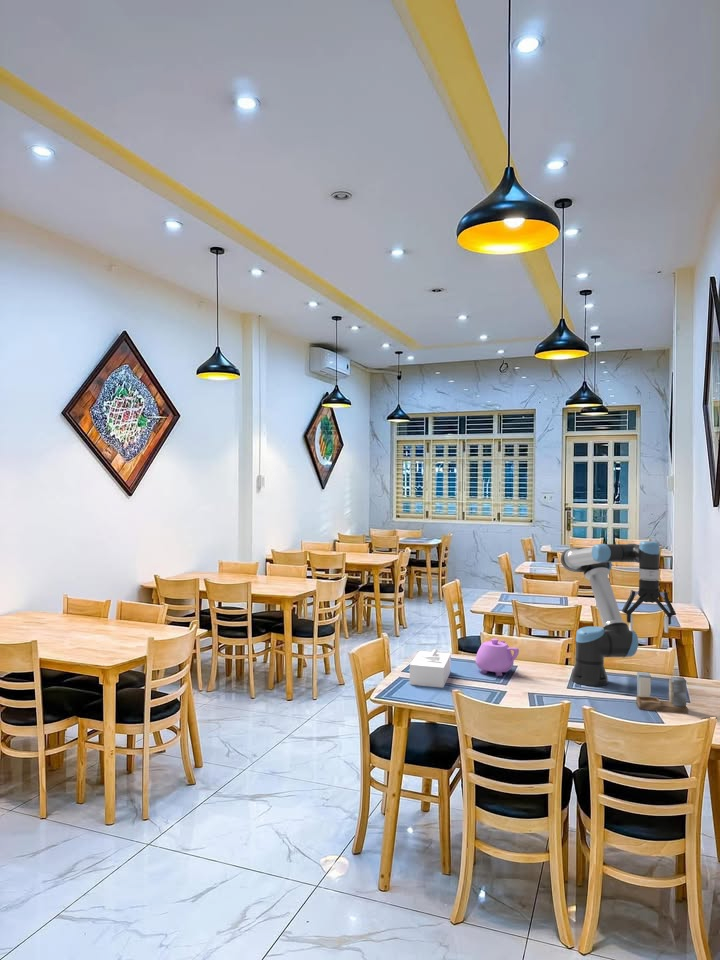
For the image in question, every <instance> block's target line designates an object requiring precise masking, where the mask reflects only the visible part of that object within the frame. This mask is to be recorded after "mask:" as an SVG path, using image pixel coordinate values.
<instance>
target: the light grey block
mask: <svg viewBox="0 0 720 960" xmlns="http://www.w3.org/2000/svg"><path fill="white" fill-rule="evenodd" d="M651 689H652V676H651V674H650V673H649V672H643V671H642V672H641V671H637V673H636V696H645V697H652V695H651V693H652V692H651V691H652V690H651Z"/></svg>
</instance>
